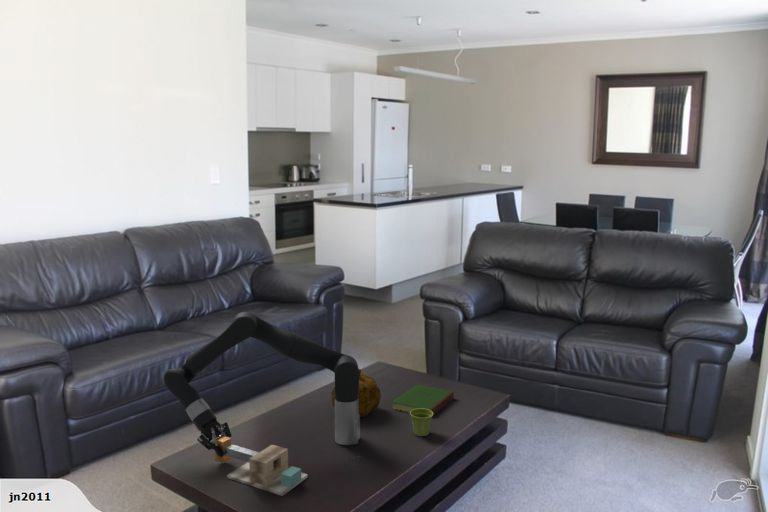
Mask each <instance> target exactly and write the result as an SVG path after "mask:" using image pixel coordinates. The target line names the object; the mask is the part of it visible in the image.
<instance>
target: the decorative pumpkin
mask: <svg viewBox="0 0 768 512" xmlns="http://www.w3.org/2000/svg"><path fill="white" fill-rule="evenodd" d="M333 386H334V387H332V389H333V390H331V393H330V399H331V401H330V402H331V404H332V406H333V408H334V409H335V385H333ZM381 395H382V394H381V389H380V388H379V386H378V383H377V381H376V379H374V377H372V376H371V375H367V374H365V373H362V370H361V369H360V368H359V415H360V418H364V417H366V416H368V414H369V413H371V412H373V411H375V410H377V409H378V407H379V405H380V402H381V398H382V396H381Z"/></svg>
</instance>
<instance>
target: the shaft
mask: <svg viewBox="0 0 768 512" xmlns="http://www.w3.org/2000/svg"><path fill="white" fill-rule="evenodd" d="M220 436H221V435H220ZM216 441H217V443H218V446H220V447H221V449H222V450H223V452H224V453H225V455H224V456H223V457H220V456H218V455H217V453H216V452H215V451H214V457H215V458H214V461H215V462H217V463H220V464H225V463H227V462H229V461H230V460H232V458H233V459H237V460H239V461H243V462H245V463H247V462H249V458H251V457H253V456H254V455H256V454H258V453H259V452H260V451H256V450H253V449H249V448H246V447H243V446H242V447H241V446H239V445H237V444H236V445H235V444H233V443H232V437H230V438H229V437H225V436H221V437H219V438H217V440H216Z"/></svg>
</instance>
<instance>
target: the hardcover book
mask: <svg viewBox="0 0 768 512" xmlns="http://www.w3.org/2000/svg"><path fill="white" fill-rule="evenodd" d="M454 395H455V393H454V391H450V390H445V389H441V388H435V387H431V386H426V385H420V384H416V385H414V386H412V387H411V388H410V389H408V390H407V391H405V392H404V393H403V394H401V395H400V396H398V397H397V398H395V399H394V400H392V401H391V402H392V409H393V410H396V409H397V410H396V411H400V410H401V411H400V412H406V413H409V414H410V411H411V410H413V409H417V408H425V409H429V410H431V411H432V412H433V416H434V415H436V414H437V413H438V412H439V411H440V410H441V409H443V408H444V407H445V406H447V405H448V404H449V403H450V402H452V401H453V400H454Z"/></svg>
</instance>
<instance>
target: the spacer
mask: <svg viewBox="0 0 768 512" xmlns="http://www.w3.org/2000/svg"><path fill="white" fill-rule="evenodd" d="M301 473H302V468H299V467H295V466H293V465H291V466H289V467H288V469H287V470H285V471H284V472H283V473H281V485H283V486H286V487H289V488H291V487H293V486H294V485H295V484H297V483H298V482H299V481H301Z"/></svg>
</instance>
